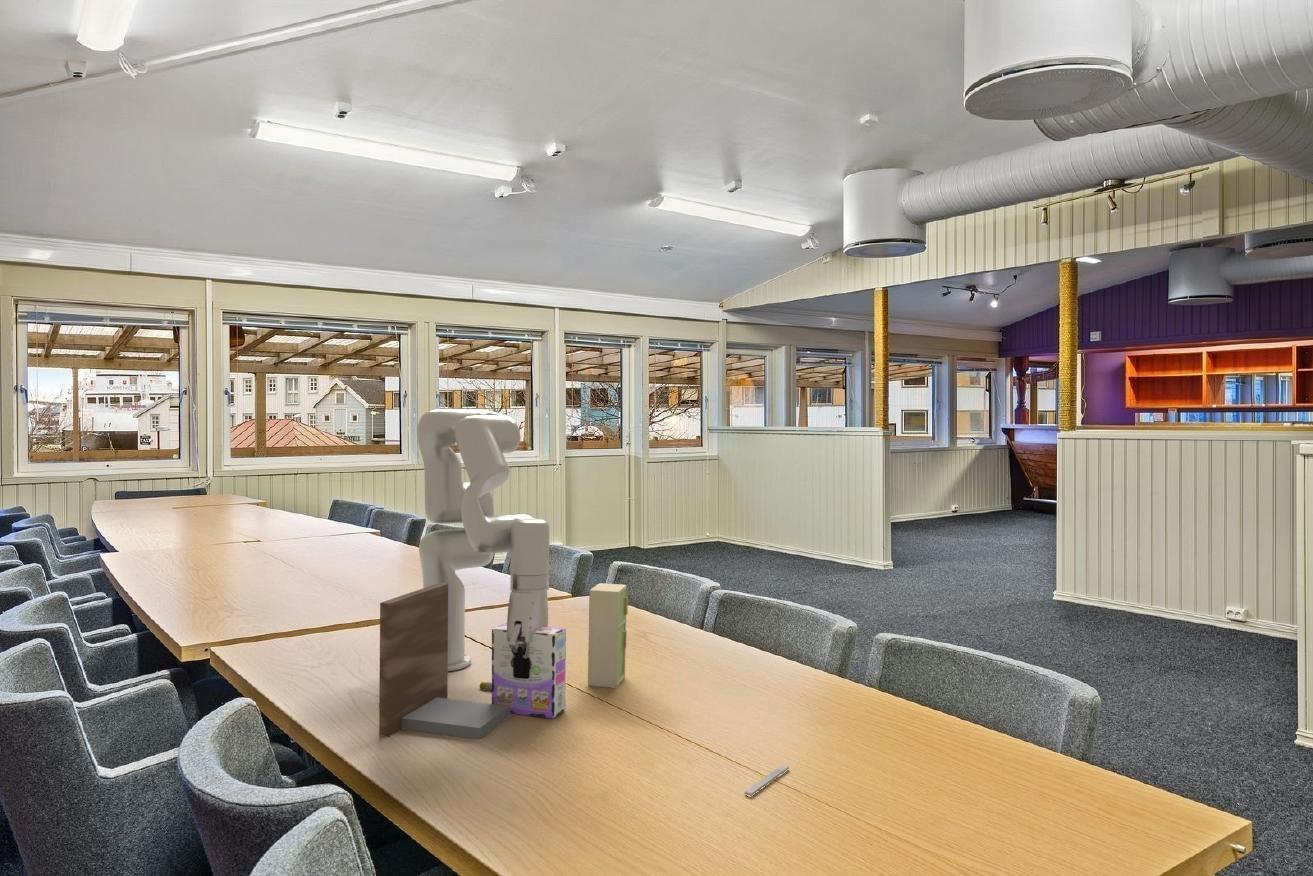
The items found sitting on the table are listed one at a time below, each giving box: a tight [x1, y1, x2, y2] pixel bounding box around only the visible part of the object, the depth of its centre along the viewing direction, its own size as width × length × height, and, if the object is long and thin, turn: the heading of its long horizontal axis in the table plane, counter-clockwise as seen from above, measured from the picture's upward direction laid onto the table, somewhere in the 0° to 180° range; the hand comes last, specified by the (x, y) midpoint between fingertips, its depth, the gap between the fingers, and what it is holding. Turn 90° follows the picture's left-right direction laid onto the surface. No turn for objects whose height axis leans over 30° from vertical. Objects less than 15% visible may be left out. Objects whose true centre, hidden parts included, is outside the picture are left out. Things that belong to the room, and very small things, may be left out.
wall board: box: [378, 583, 449, 737], centre depth 155 cm, size 2×20×24 cm, turn 164°
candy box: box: [491, 622, 567, 719], centre depth 159 cm, size 14×6×16 cm, turn 71°
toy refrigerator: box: [587, 582, 629, 689], centre depth 178 cm, size 8×7×21 cm
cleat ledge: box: [401, 698, 511, 740], centre depth 153 cm, size 16×12×2 cm
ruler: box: [744, 764, 790, 796], centre depth 128 cm, size 12×1×1 cm, turn 144°
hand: (528, 672), depth 159 cm, fingers closed on candy box, 6 cm apart
